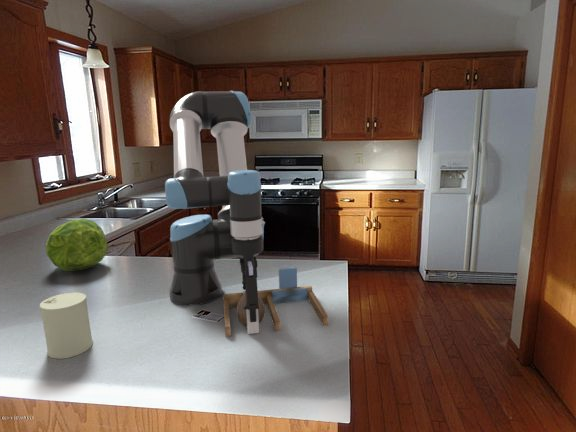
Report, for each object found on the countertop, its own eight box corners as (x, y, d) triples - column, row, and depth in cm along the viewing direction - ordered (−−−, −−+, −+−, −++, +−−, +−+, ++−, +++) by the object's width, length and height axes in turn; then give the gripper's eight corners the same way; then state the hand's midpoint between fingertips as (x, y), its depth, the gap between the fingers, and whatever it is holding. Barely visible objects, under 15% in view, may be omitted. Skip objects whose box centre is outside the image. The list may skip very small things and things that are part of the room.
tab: (279, 290, 113) (279, 269, 112) (279, 288, 114) (278, 268, 113) (297, 288, 114) (296, 268, 112) (296, 286, 115) (295, 266, 114)
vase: (269, 319, 102) (268, 287, 100) (258, 332, 96) (257, 297, 94) (244, 316, 104) (243, 284, 102) (232, 328, 98) (230, 294, 96)
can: (59, 338, 95) (51, 291, 93) (99, 336, 96) (92, 289, 93) (38, 360, 86) (29, 308, 84) (83, 357, 87) (75, 305, 84)
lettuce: (91, 257, 161) (75, 214, 156) (122, 259, 146) (106, 212, 142) (41, 278, 146) (23, 231, 142) (70, 282, 132) (50, 231, 128)
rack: (225, 336, 94) (224, 322, 93) (223, 306, 111) (223, 294, 110) (327, 324, 98) (327, 311, 97) (311, 297, 115) (311, 285, 114)
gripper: (268, 247, 85) (272, 343, 90) (257, 224, 106) (261, 303, 111) (233, 250, 84) (239, 347, 89) (229, 226, 105) (234, 306, 110)
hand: (251, 323), depth 100 cm, fingers open, 9 cm apart
